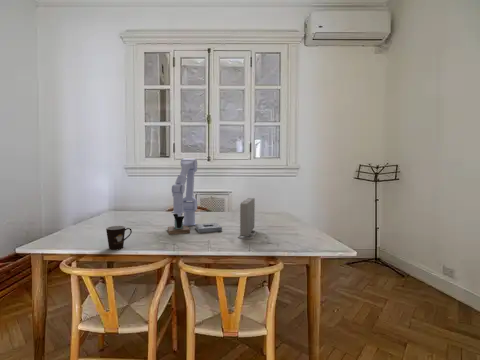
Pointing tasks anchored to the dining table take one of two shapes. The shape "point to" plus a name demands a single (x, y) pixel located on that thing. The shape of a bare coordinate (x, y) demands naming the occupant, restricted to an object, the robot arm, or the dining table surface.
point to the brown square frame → (178, 230)
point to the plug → (176, 225)
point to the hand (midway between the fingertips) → (178, 226)
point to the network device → (247, 218)
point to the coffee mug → (116, 236)
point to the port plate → (208, 227)
